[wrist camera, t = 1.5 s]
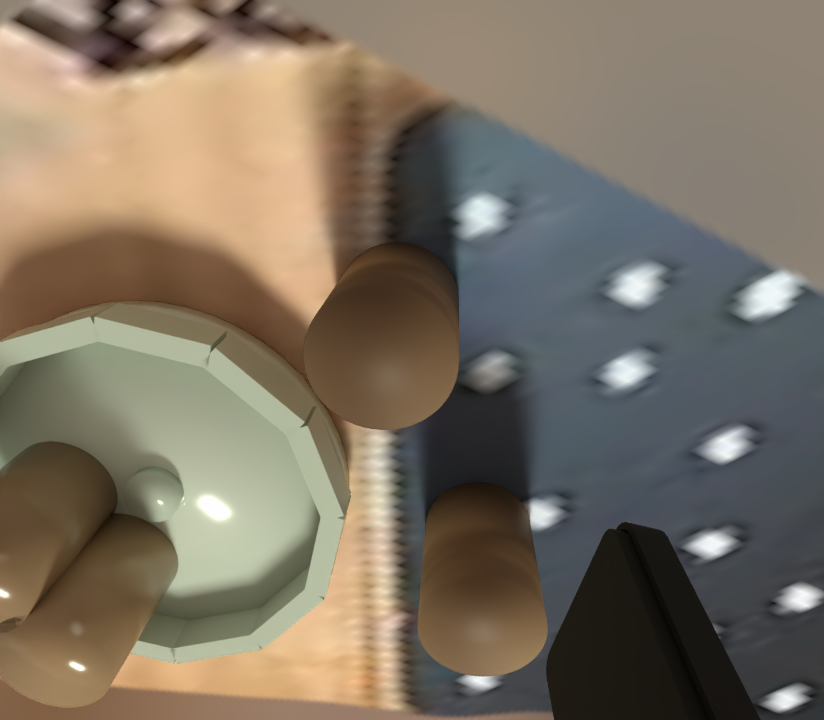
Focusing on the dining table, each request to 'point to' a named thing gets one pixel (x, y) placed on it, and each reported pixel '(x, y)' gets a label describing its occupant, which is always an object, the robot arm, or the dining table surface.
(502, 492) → the bead
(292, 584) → the tray
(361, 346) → the bead
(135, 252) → the dining table surface
